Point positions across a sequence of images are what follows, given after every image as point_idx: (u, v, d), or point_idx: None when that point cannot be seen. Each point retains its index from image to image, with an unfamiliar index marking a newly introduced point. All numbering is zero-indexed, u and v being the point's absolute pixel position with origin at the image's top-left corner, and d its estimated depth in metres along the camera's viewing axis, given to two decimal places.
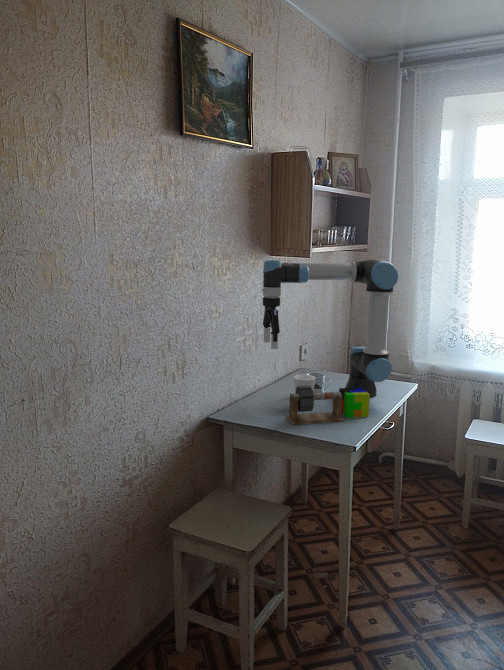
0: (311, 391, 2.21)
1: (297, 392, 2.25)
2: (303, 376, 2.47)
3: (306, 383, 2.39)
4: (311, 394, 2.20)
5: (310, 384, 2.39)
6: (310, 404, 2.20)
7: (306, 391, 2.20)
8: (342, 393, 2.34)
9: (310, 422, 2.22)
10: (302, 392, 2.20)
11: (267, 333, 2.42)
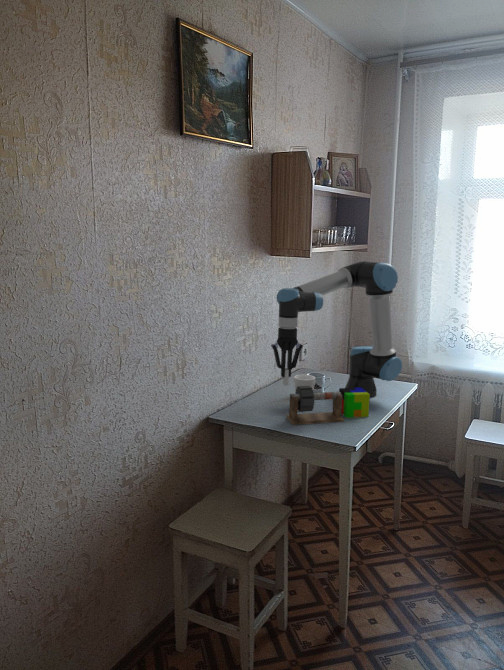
0: (311, 391, 2.21)
1: (297, 392, 2.25)
2: (303, 376, 2.47)
3: (306, 383, 2.39)
4: (311, 394, 2.20)
5: (310, 384, 2.39)
6: (310, 404, 2.20)
7: (306, 391, 2.20)
8: (342, 393, 2.34)
9: (310, 422, 2.22)
10: (302, 392, 2.20)
11: None
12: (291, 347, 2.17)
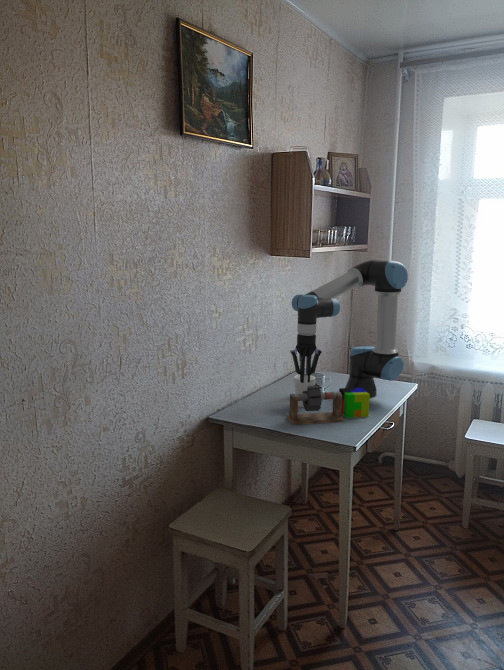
0: (319, 391, 2.21)
1: (304, 392, 2.25)
2: None
3: None
4: (319, 394, 2.21)
5: (310, 384, 2.39)
6: (318, 404, 2.20)
7: (313, 390, 2.21)
8: (342, 393, 2.34)
9: (310, 422, 2.22)
10: (310, 392, 2.20)
11: None
12: (310, 353, 2.19)
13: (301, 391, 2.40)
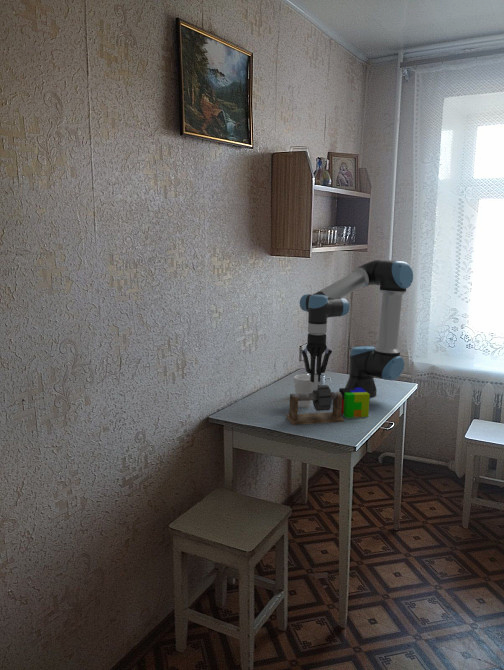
0: (329, 390, 2.22)
1: (315, 391, 2.26)
2: (303, 376, 2.47)
3: (306, 383, 2.39)
4: (329, 393, 2.21)
5: (310, 384, 2.39)
6: (328, 403, 2.21)
7: (324, 390, 2.22)
8: (342, 393, 2.34)
9: (310, 422, 2.22)
10: (320, 391, 2.21)
11: None
12: (320, 353, 2.20)
13: (301, 391, 2.40)
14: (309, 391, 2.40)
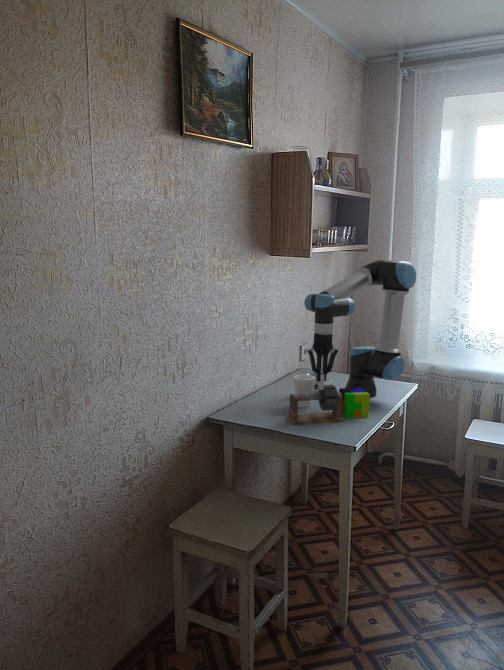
0: (335, 391, 2.23)
1: (321, 391, 2.27)
2: (303, 376, 2.47)
3: (306, 383, 2.39)
4: (335, 394, 2.22)
5: (310, 384, 2.39)
6: (334, 404, 2.22)
7: (330, 390, 2.22)
8: (342, 393, 2.34)
9: (310, 422, 2.22)
10: (326, 392, 2.22)
11: None
12: (327, 352, 2.20)
13: (301, 391, 2.40)
14: (309, 391, 2.40)
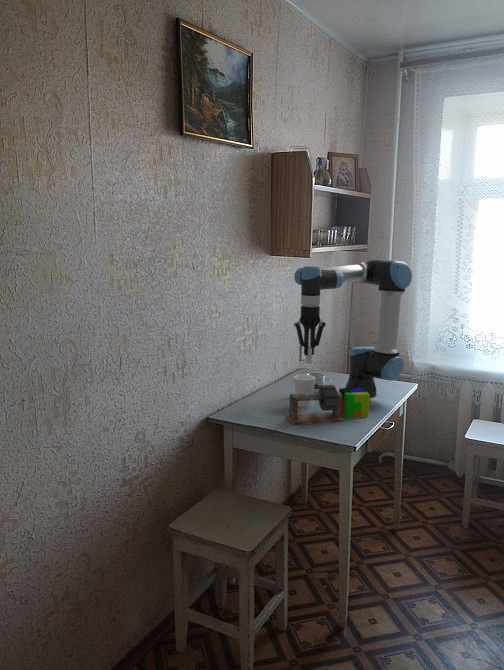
0: (335, 391, 2.23)
1: (321, 391, 2.27)
2: (303, 376, 2.47)
3: (306, 383, 2.39)
4: (335, 394, 2.22)
5: (310, 384, 2.39)
6: (334, 404, 2.22)
7: (330, 391, 2.22)
8: (342, 393, 2.34)
9: (310, 422, 2.22)
10: (326, 392, 2.22)
11: None
12: (314, 325, 2.17)
13: (301, 391, 2.40)
14: (309, 391, 2.40)
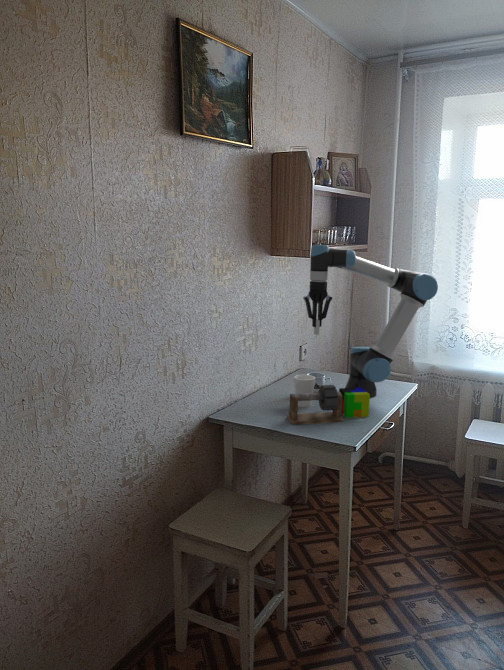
0: (335, 391, 2.23)
1: (321, 391, 2.27)
2: (303, 376, 2.47)
3: (306, 383, 2.39)
4: (335, 394, 2.22)
5: (310, 384, 2.39)
6: (334, 404, 2.22)
7: (330, 391, 2.22)
8: (342, 393, 2.34)
9: (310, 422, 2.22)
10: (326, 392, 2.22)
11: None
12: (322, 299, 2.37)
13: (301, 391, 2.40)
14: (309, 391, 2.40)
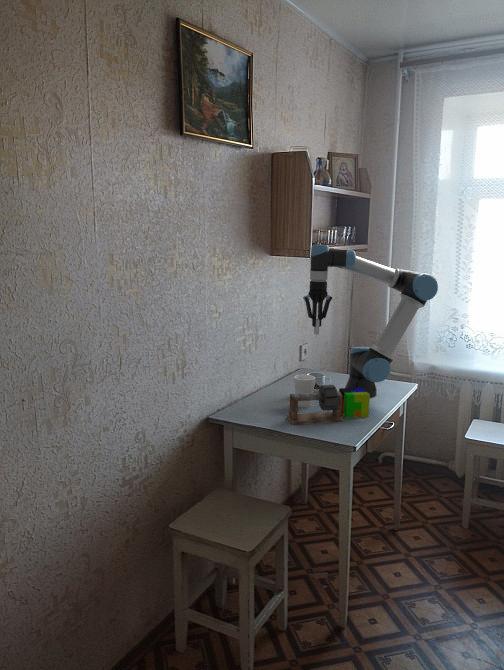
0: (335, 391, 2.23)
1: (321, 391, 2.27)
2: (303, 376, 2.47)
3: (306, 383, 2.39)
4: (335, 394, 2.22)
5: (310, 384, 2.39)
6: (334, 404, 2.22)
7: (330, 390, 2.22)
8: (342, 393, 2.34)
9: (310, 422, 2.22)
10: (326, 392, 2.22)
11: None
12: (322, 299, 2.37)
13: (301, 391, 2.40)
14: (309, 391, 2.40)
